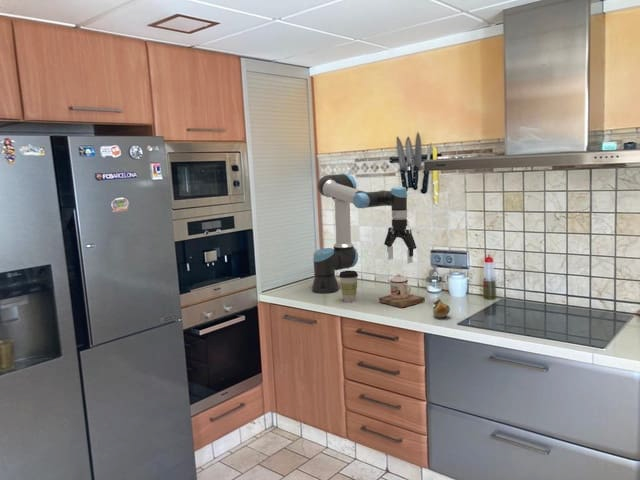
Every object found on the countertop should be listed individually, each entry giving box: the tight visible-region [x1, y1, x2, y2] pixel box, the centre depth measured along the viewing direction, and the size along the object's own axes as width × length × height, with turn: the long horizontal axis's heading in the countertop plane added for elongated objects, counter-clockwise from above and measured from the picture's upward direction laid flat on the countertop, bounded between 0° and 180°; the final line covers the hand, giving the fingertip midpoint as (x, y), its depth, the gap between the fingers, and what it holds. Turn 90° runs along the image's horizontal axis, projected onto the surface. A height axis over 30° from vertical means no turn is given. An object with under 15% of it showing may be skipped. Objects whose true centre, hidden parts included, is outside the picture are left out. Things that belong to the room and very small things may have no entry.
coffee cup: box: [338, 270, 359, 303], centre depth 272 cm, size 10×10×15 cm
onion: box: [432, 298, 451, 319], centre depth 235 cm, size 8×8×8 cm
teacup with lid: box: [389, 273, 412, 299], centre depth 263 cm, size 12×9×12 cm
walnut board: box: [378, 293, 426, 309], centre depth 264 cm, size 16×16×2 cm
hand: (400, 261), depth 262 cm, fingers open, 13 cm apart
